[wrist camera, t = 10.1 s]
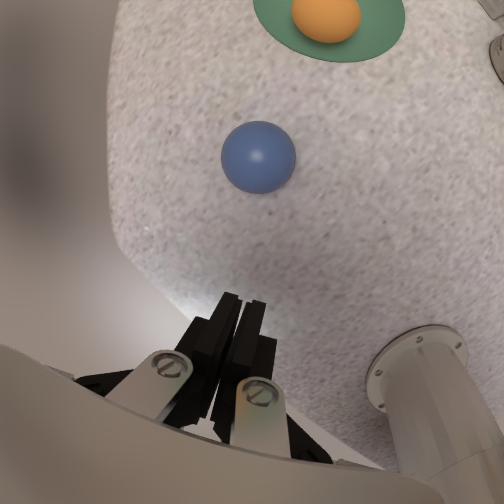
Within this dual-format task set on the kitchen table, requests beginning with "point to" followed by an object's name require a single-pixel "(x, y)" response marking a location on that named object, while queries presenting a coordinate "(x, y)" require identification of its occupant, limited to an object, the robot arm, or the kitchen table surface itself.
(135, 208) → the kitchen table surface
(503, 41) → the spray can
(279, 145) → the blue ball
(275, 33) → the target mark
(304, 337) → the kitchen table surface
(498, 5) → the supplement box
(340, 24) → the object ball
